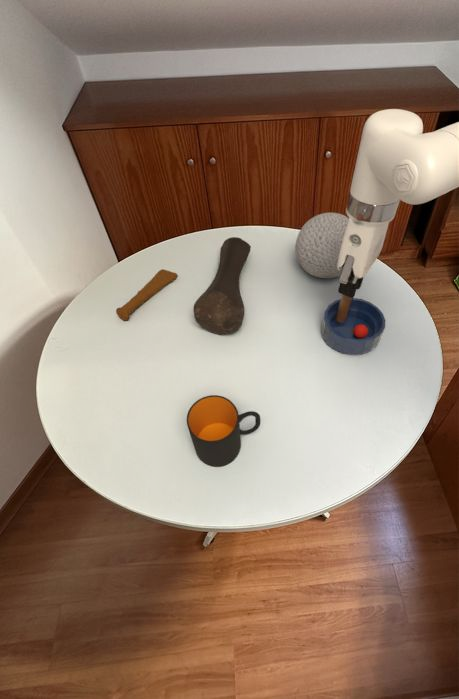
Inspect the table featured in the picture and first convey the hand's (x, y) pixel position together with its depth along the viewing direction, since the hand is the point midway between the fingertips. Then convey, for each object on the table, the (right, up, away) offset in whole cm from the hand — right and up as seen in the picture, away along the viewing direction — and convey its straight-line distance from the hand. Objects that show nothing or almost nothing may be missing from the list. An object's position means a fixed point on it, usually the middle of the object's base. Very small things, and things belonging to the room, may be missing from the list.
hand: (348, 290), depth 72 cm
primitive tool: (-44, +2, +20) cm, 48 cm away
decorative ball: (0, +8, +21) cm, 23 cm away
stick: (0, -5, +7) cm, 9 cm away
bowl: (+3, -8, +8) cm, 12 cm away
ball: (+4, -9, +7) cm, 12 cm away
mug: (-24, -28, -5) cm, 37 cm away
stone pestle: (-24, +1, +18) cm, 30 cm away
